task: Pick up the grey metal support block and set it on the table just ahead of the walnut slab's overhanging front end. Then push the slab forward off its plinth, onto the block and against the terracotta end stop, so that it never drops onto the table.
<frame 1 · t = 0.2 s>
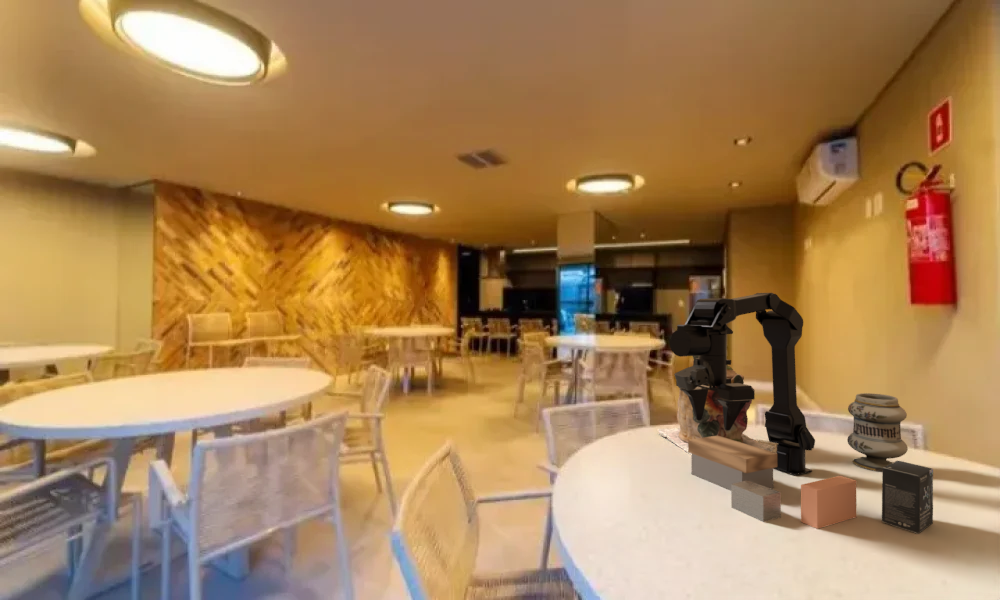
hand: (712, 425, 105), 14 cm above the table, tool pointing down, fingers open, 9 cm apart
apothecary jar: (876, 467, 121), on the table
cookie jar: (711, 444, 141), on the table
end stop: (829, 519, 91), on the table
box: (907, 524, 89), on the table
support block: (755, 512, 94), on the table
slab: (730, 459, 111), point 5 cm above the table, touching plinth
plinth: (730, 480, 111), on the table
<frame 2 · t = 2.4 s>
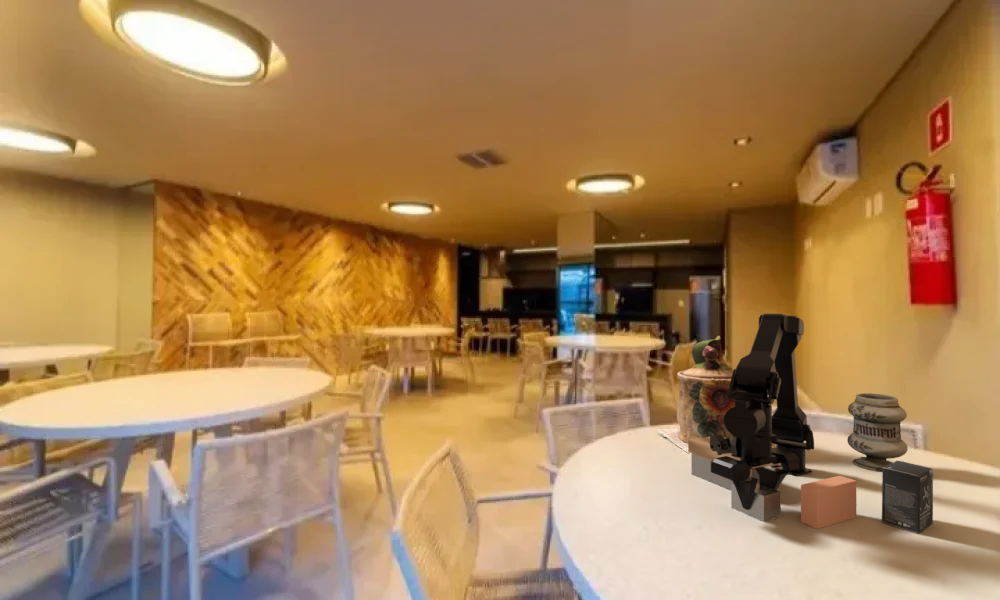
hand: (755, 506, 94), 1 cm above the table, tool pointing down, fingers closed on support block, 5 cm apart
support block: (755, 512, 94), on the table, touching gripper
everything else where it was.
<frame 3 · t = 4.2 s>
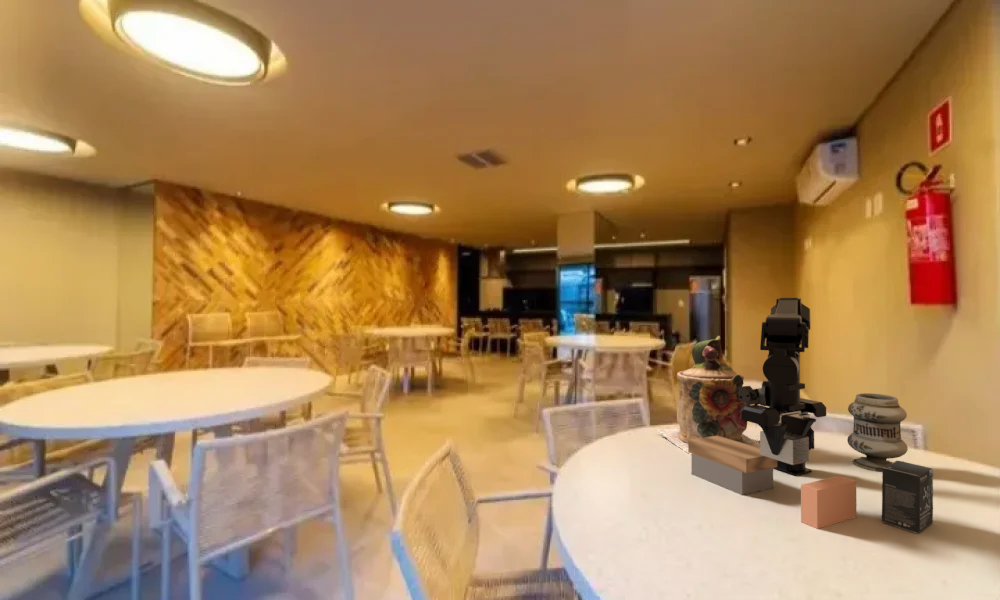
hand: (784, 452, 98), 11 cm above the table, tool pointing down, fingers closed on support block, 5 cm apart
support block: (784, 457, 98), point 9 cm above the table, touching gripper
everything else where it was.
when the fingers open (2 cm above the table, at t = 6.3 s): support block drops 2 cm, on the table.
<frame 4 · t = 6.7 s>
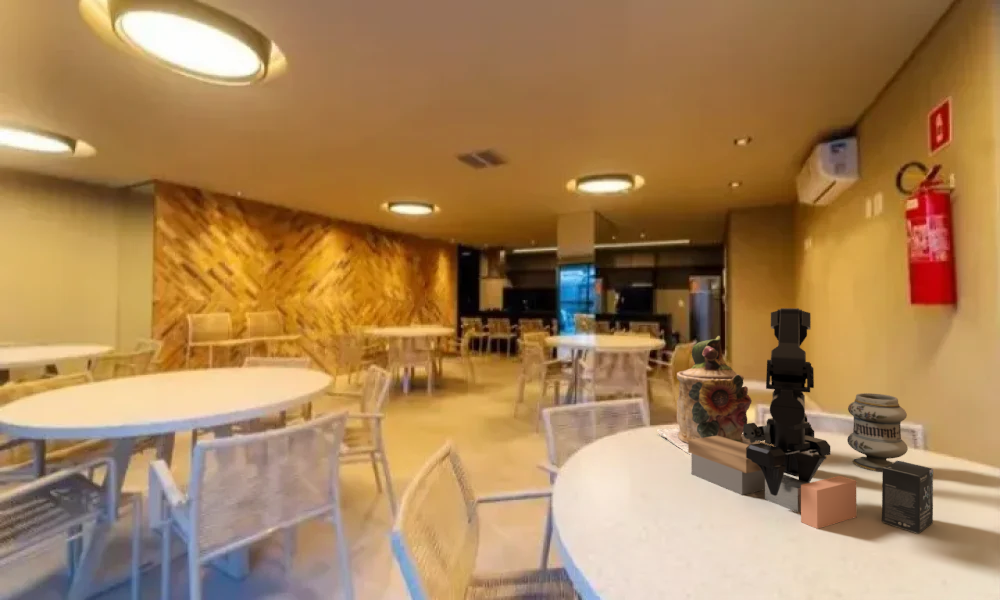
hand: (788, 491, 98), 2 cm above the table, tool pointing down, fingers open, 9 cm apart
support block: (788, 504, 98), on the table
everything else where it was.
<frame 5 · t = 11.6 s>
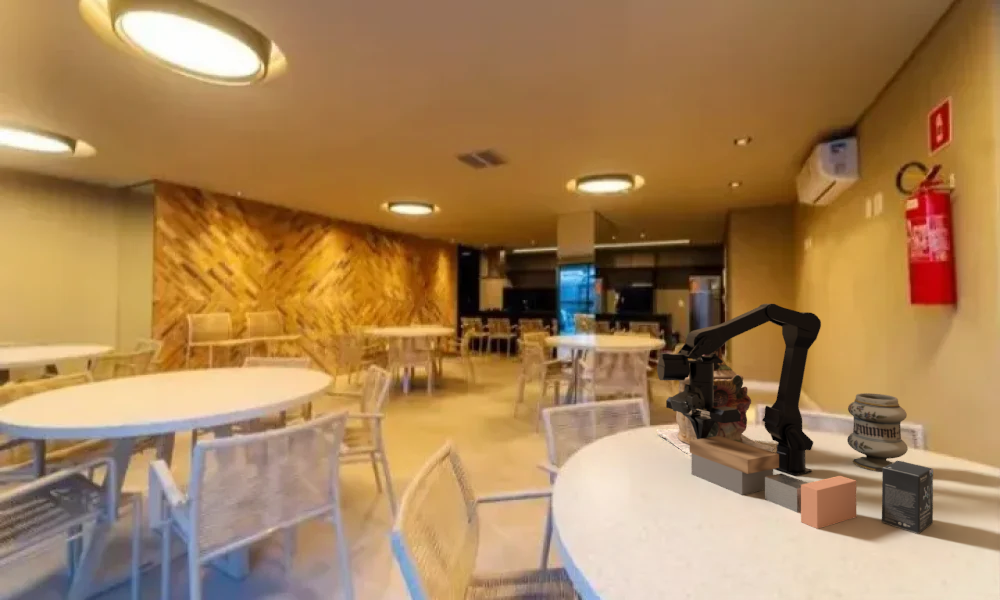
hand: (701, 443, 119), 6 cm above the table, tool pointing down, fingers closed
slab: (732, 459, 111), point 5 cm above the table, touching gripper, plinth
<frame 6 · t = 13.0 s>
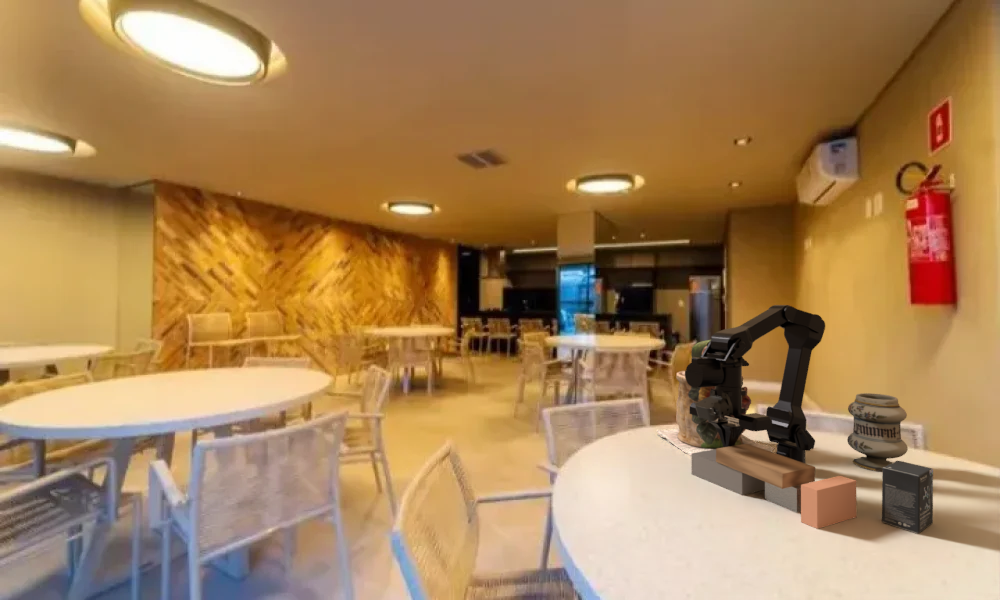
hand: (728, 451, 112), 7 cm above the table, tool pointing down, fingers closed
slab: (762, 471, 103), point 5 cm above the table, touching gripper
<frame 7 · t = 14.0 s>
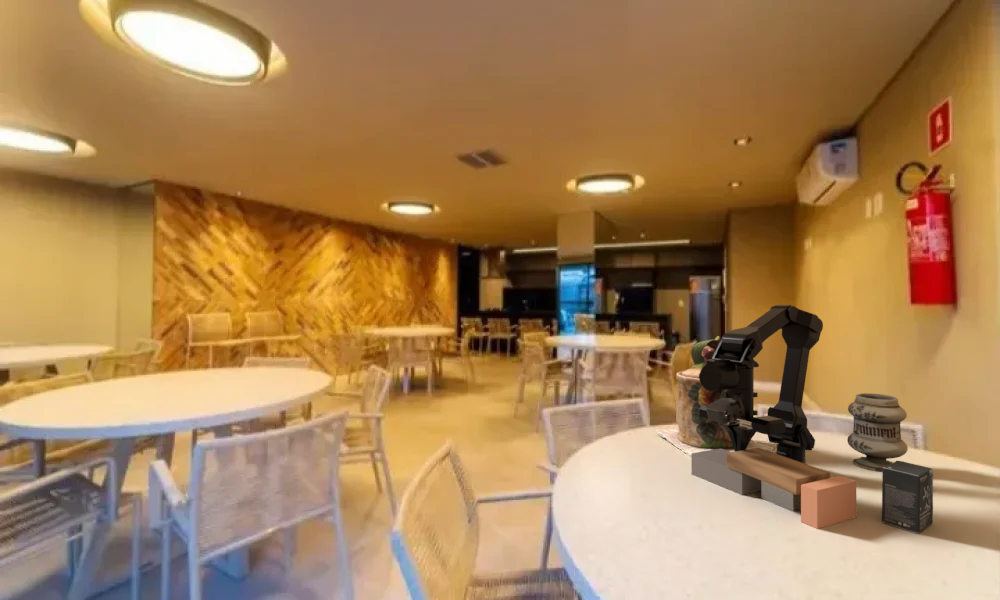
hand: (739, 455, 109), 7 cm above the table, tool pointing down, fingers closed
support block: (785, 503, 99), on the table, touching slab
slab: (775, 476, 100), point 5 cm above the table, touching gripper, plinth, support block
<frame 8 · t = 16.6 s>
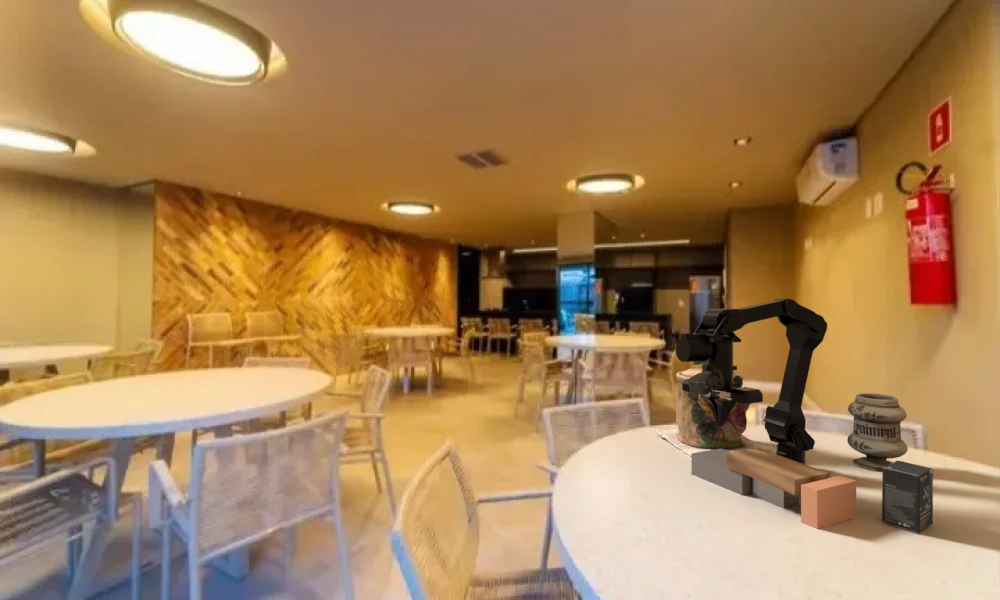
hand: (719, 426, 114), 12 cm above the table, tool pointing down, fingers closed
support block: (775, 500, 100), on the table, touching slab
slab: (774, 476, 100), point 5 cm above the table, touching plinth, support block
at the end: slab 0.9 cm from the target spot, point 4.8 cm above the table; slab touching plinth, support block; support block touching slab, table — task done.
